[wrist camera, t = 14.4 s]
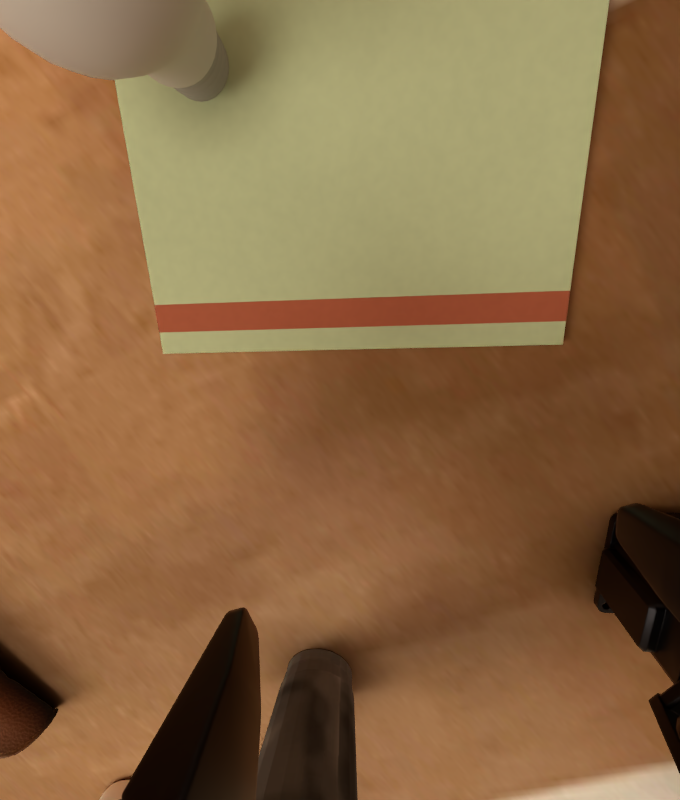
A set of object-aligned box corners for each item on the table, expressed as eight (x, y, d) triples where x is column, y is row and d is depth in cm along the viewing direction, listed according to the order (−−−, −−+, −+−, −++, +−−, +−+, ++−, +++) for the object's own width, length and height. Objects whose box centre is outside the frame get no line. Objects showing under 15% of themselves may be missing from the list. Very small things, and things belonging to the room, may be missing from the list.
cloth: (619, -98, 14) (624, -107, 14) (560, 343, 19) (563, 344, 19) (97, -37, 16) (92, -43, 16) (165, 352, 21) (162, 353, 20)
